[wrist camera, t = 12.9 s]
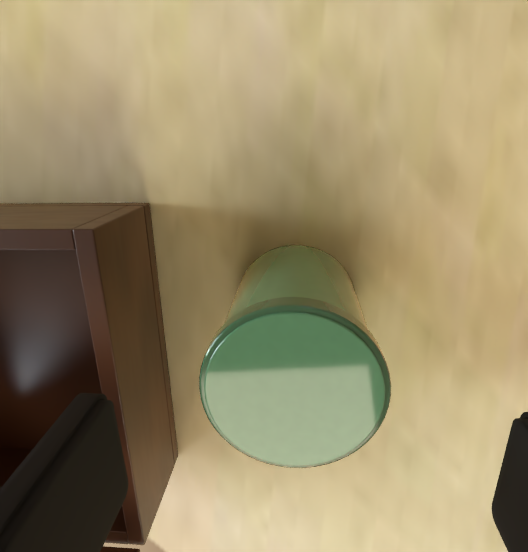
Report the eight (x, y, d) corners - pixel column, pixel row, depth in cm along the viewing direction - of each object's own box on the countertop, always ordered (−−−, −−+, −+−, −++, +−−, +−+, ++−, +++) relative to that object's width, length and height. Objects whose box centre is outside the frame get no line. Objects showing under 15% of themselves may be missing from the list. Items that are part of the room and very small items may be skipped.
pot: (231, 240, 20) (190, 304, 13) (362, 241, 20) (401, 308, 12) (236, 353, 22) (204, 466, 15) (355, 357, 22) (383, 475, 14)
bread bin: (-106, 204, 21) (-247, 229, 16) (149, 202, 20) (92, 229, 14) (-28, 445, 26) (-114, 528, 21) (178, 455, 25) (144, 545, 20)
